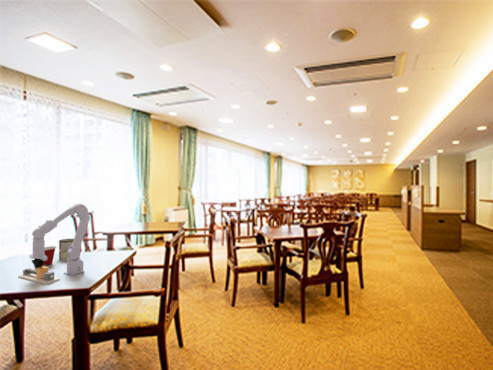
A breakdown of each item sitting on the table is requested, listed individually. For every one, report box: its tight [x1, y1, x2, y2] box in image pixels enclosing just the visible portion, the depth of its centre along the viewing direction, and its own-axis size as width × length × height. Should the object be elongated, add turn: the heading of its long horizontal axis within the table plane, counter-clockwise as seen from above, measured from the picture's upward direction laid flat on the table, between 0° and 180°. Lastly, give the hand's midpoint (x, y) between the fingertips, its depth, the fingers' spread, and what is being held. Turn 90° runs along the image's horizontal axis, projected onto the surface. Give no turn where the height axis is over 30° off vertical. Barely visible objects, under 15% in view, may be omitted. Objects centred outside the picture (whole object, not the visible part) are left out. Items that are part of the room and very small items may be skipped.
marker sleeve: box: [36, 266, 50, 279], centre depth 163 cm, size 5×4×6 cm
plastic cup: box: [42, 245, 57, 267], centre depth 195 cm, size 11×11×12 cm
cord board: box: [17, 268, 61, 285], centre depth 165 cm, size 28×8×5 cm, turn 64°
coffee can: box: [58, 238, 74, 261], centre depth 212 cm, size 10×10×14 cm
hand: (38, 271), depth 165 cm, fingers closed
